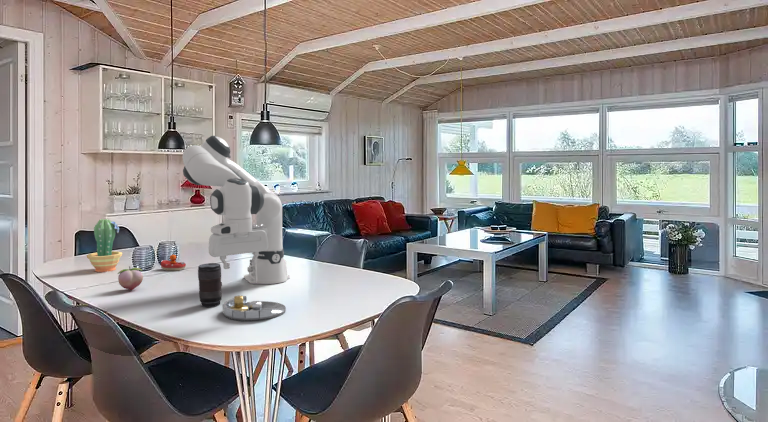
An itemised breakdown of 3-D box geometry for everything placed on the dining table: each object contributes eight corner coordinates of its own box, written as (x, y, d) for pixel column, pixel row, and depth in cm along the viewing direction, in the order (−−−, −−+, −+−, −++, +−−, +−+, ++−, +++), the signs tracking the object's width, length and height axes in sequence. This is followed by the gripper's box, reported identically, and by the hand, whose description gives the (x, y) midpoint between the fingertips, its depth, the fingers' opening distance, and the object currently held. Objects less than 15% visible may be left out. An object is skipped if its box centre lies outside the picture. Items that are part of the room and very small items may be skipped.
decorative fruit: (138, 286, 217) (137, 263, 216) (146, 289, 211) (145, 266, 210) (114, 290, 210) (113, 266, 209) (121, 293, 204) (120, 269, 204)
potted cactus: (112, 273, 242) (110, 221, 240) (80, 273, 243) (77, 220, 240) (129, 266, 258) (127, 217, 256) (98, 266, 258) (96, 217, 256)
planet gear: (227, 311, 177) (226, 296, 176) (243, 308, 180) (243, 293, 180) (234, 315, 172) (233, 299, 172) (250, 312, 176) (250, 297, 175)
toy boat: (166, 267, 257) (165, 252, 256) (188, 268, 255) (187, 253, 255) (157, 271, 249) (157, 255, 248) (180, 271, 248) (179, 256, 247)
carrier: (213, 310, 182) (212, 301, 181) (268, 300, 195) (268, 291, 195) (238, 325, 165) (237, 315, 164) (297, 313, 178) (297, 304, 178)
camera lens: (202, 302, 193) (201, 262, 192) (224, 301, 194) (223, 262, 192) (196, 308, 185) (195, 267, 183) (219, 307, 186) (218, 266, 184)
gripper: (262, 223, 182) (263, 261, 184) (205, 228, 170) (207, 269, 171) (271, 225, 178) (271, 264, 179) (213, 230, 165) (214, 272, 166)
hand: (239, 266), depth 175 cm, fingers open, 8 cm apart
